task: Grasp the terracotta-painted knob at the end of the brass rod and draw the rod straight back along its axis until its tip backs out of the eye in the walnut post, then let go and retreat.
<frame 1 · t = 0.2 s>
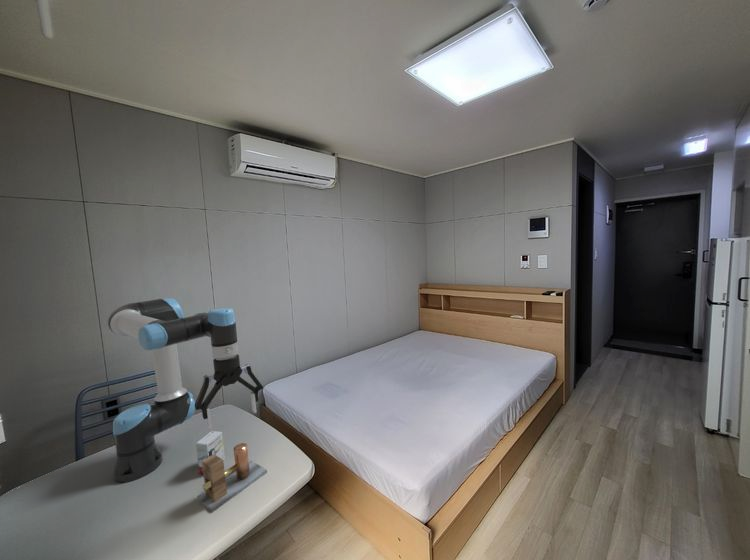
hand: (233, 418, 99), 27 cm above the table, fingers open, 13 cm apart
ink box: (212, 466, 116), on the table
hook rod: (226, 470, 103), point 7 cm above the table, slide at 0.0 cm
eye post: (216, 496, 101), on the table
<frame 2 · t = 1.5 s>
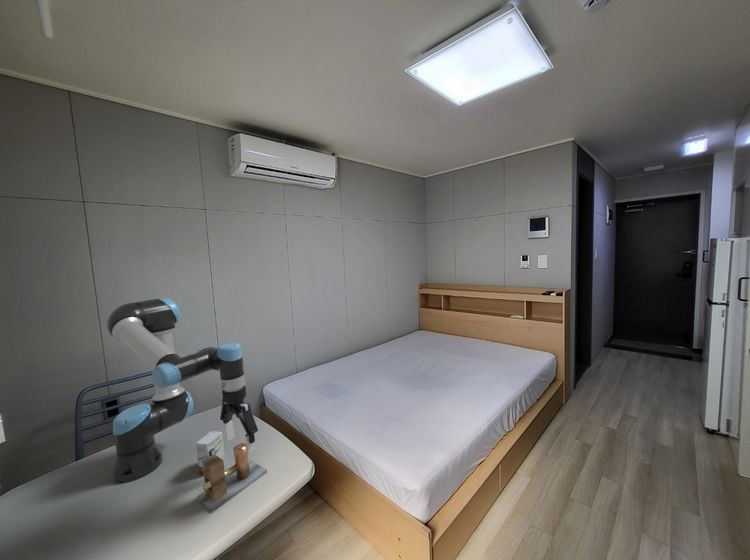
hand: (240, 444, 107), 13 cm above the table, fingers open, 13 cm apart
nothing on the table moved.
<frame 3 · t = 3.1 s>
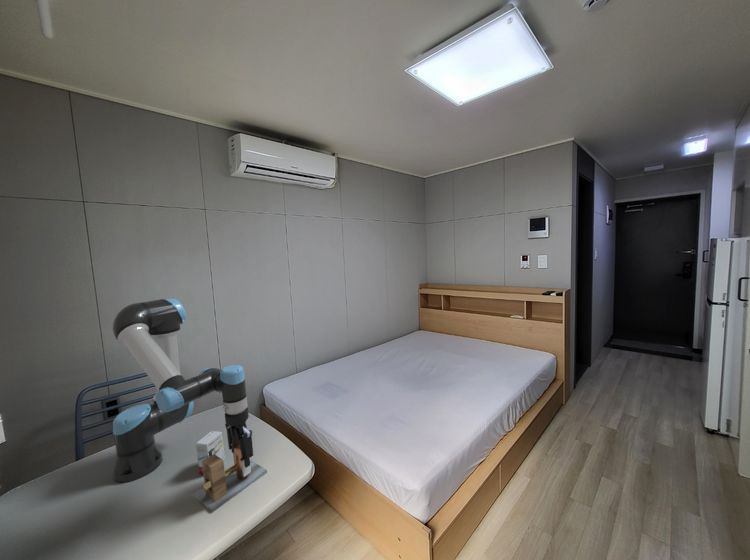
hand: (242, 471, 108), 3 cm above the table, fingers closed on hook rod, 4 cm apart
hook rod: (226, 470, 103), point 7 cm above the table, slide at 0.0 cm, touching gripper
everything else where it was.
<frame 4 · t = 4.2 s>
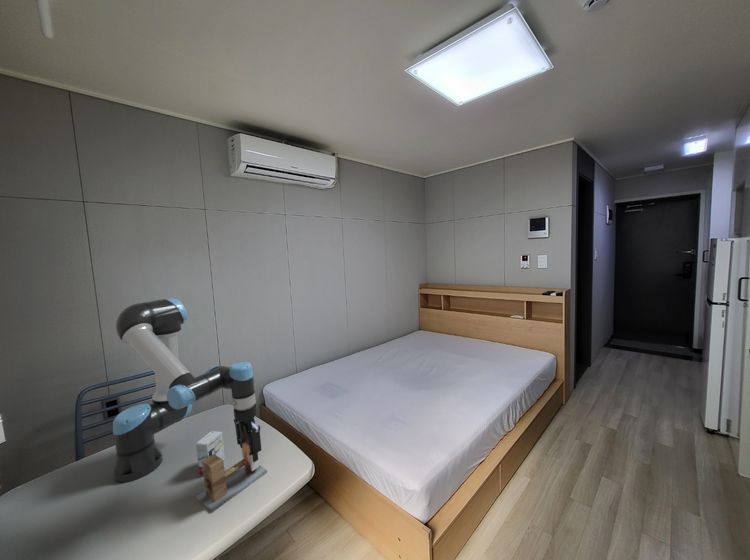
hand: (251, 465, 111), 3 cm above the table, fingers closed on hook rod, 4 cm apart
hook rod: (235, 464, 106), point 7 cm above the table, slide at 3.2 cm, touching gripper
everything else where it was.
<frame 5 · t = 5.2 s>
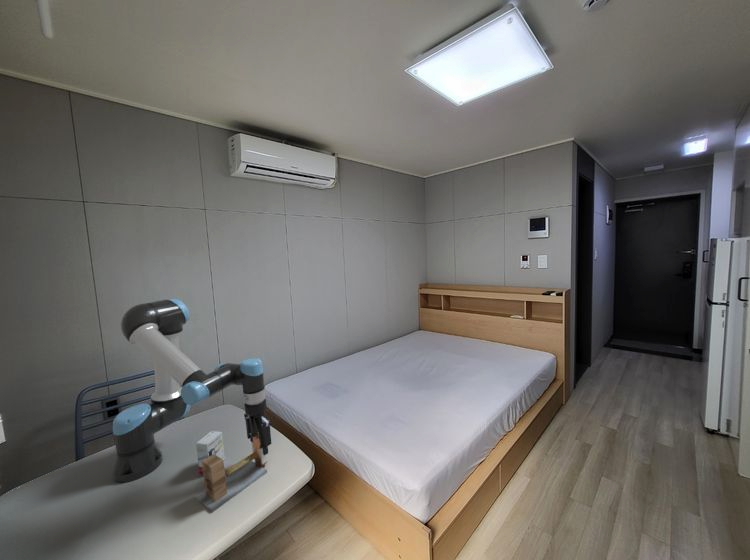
hand: (261, 459, 114), 3 cm above the table, fingers closed on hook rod, 4 cm apart
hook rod: (246, 457, 109), point 7 cm above the table, slide at 7.4 cm, touching gripper
everything else where it was.
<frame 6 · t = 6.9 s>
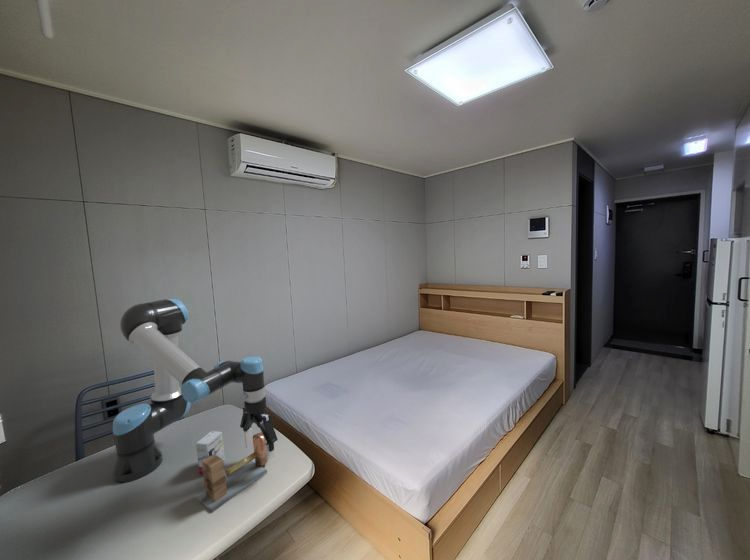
hand: (259, 451, 114), 5 cm above the table, fingers open, 13 cm apart
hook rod: (246, 457, 109), point 7 cm above the table, slide at 7.5 cm
everything else where it was.
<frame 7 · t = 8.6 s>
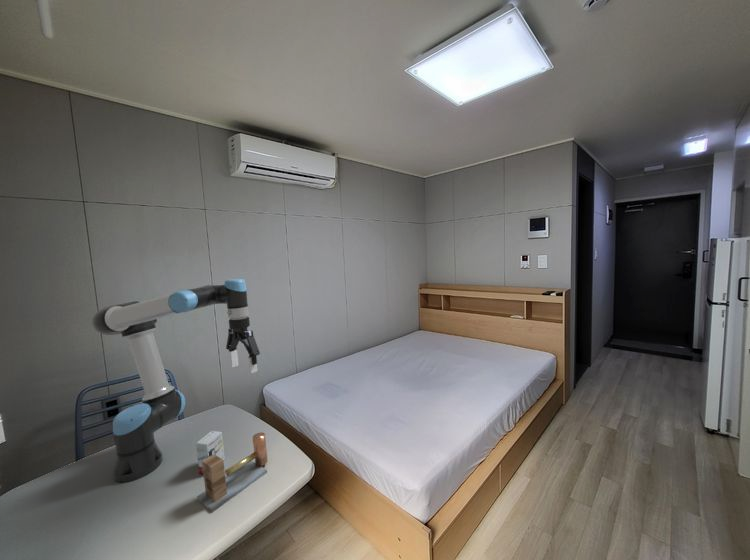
hand: (244, 369, 121), 35 cm above the table, fingers open, 13 cm apart
nothing on the table moved.
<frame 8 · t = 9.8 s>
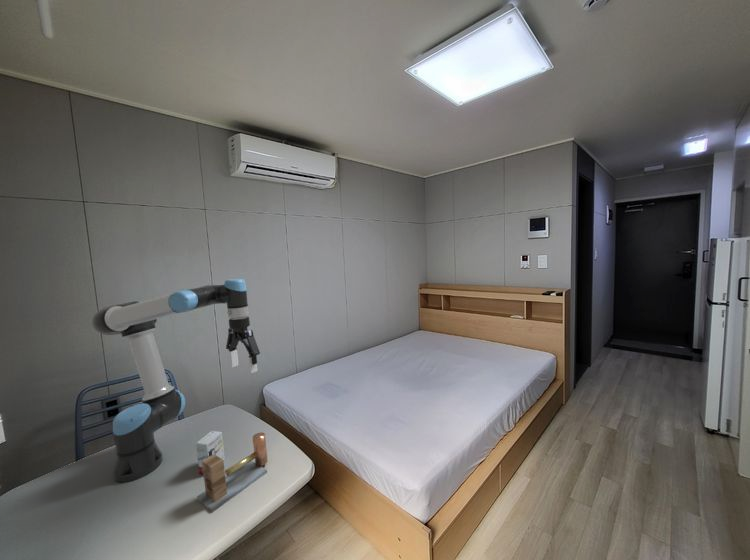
hand: (244, 369, 121), 35 cm above the table, fingers open, 13 cm apart
nothing on the table moved.
at the end: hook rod slide at 7.5 cm; the gripper is holding nothing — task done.
